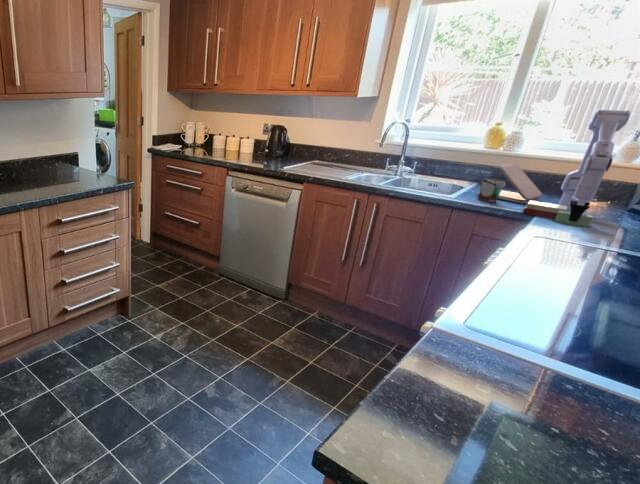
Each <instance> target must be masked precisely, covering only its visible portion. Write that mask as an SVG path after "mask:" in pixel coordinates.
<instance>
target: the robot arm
mask: <svg viewBox="0 0 640 484" xmlns="http://www.w3.org/2000/svg"><path fill="white" fill-rule="evenodd" d="M630 117H631V110H616V109H600V108H598V109H596V110H595V111H594V112H593V115H592V116H591V119H590V122H589V123H588V128H587V129H588V130H590V131H591V132H592V136H591V138H590V141H589V143H588V146H587V148H586V149H585V153H584V155H583V157H582V159H581V162H580V164H579V166H578V169H576V170H573V171H570V172H568V173H567V174H566V176H565V178H564V179H563V181H562V183H561V187H560V190H561V191H562V194H561V196H560V200H559V202H558V204H557V205H564V206H567V210H566V211H567V212H571V213H570V217H569V221H574V222H576V221H577V220H578V219H579V218H580V216H581V215H582V214H585V212H586V211H587V210H589V209H590V207H591V206H590V205H591V203H592V202H593V203H596V202H597V201H598V200H597V199H594V197H595V195H596V193H597V191H598V189H599V187H600V185H601V183H602V180H603V178H604V176H605V174H606V173H607V172H608V171H609V170H610V168H611V166H612V164H613V159H614V158H613V155H612V154H613V150H614V147H615V143H614V142H613V141H612V139H613V137H614V135H615V133H616V132H620V130H621V129H623V128H624V126H626V125H627V123H628V121H629V119H630Z"/></svg>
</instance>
